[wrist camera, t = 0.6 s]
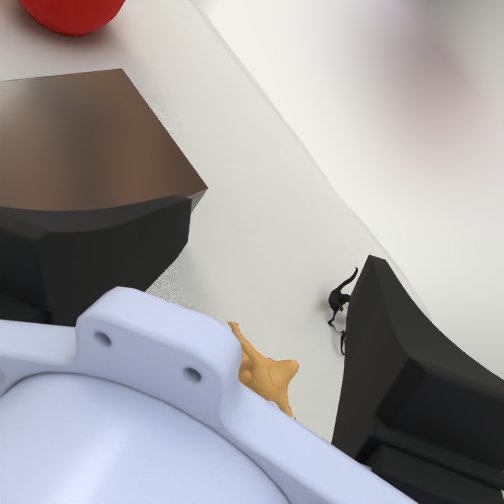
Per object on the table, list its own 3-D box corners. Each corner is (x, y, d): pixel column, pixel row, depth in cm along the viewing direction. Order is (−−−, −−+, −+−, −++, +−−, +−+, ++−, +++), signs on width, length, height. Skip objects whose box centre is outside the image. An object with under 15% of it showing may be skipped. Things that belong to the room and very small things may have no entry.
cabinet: (3, 316, 25) (-8, 277, 19) (-89, 173, 26) (-127, 94, 20) (179, 231, 34) (208, 187, 28) (108, 130, 35) (121, 68, 29)
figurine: (271, 404, 31) (369, 390, 22) (220, 452, 28) (312, 460, 18) (222, 324, 32) (297, 278, 23) (167, 360, 29) (229, 322, 19)
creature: (365, 314, 43) (328, 269, 41) (407, 308, 39) (368, 258, 37) (348, 369, 39) (304, 321, 36) (393, 368, 35) (348, 314, 32)
